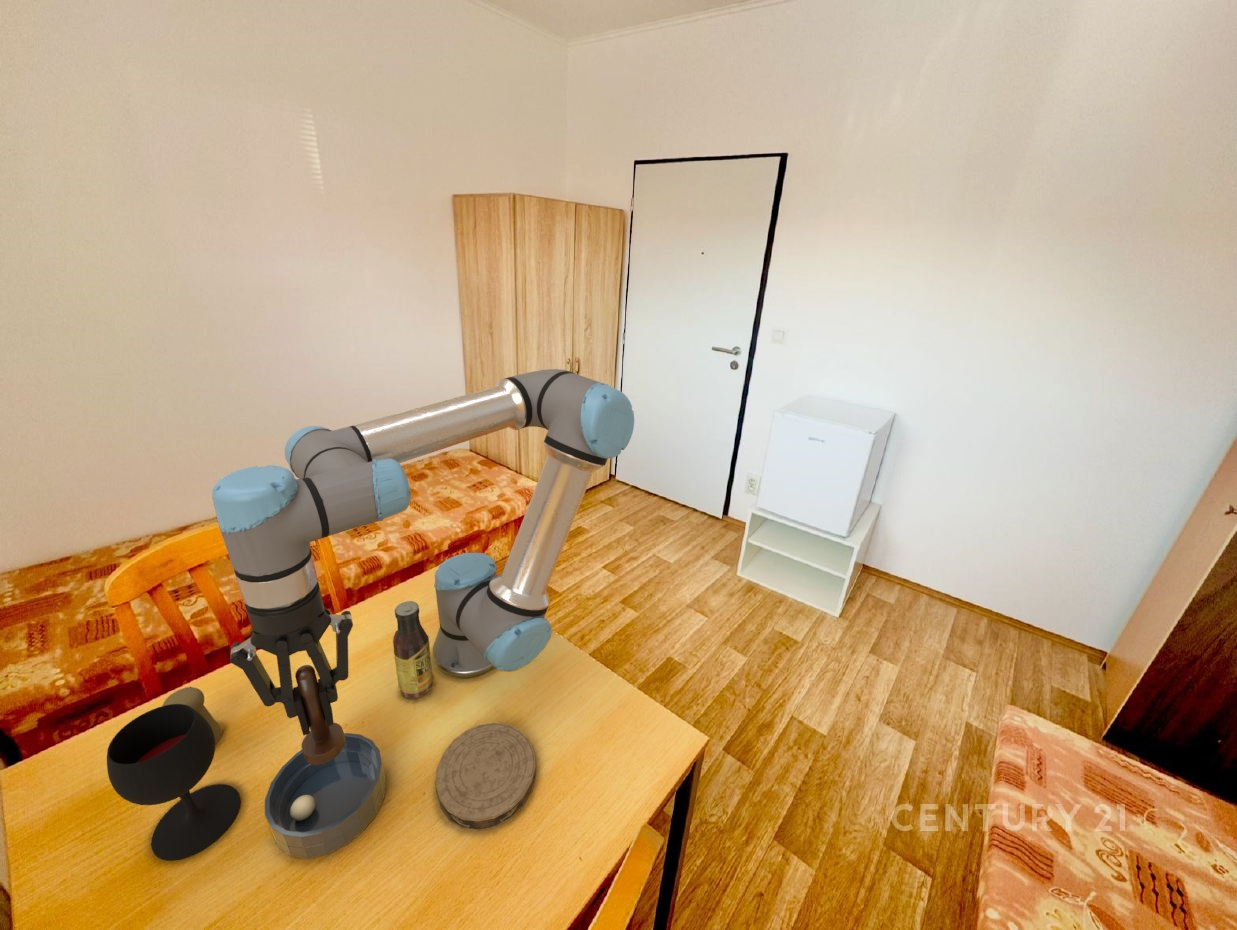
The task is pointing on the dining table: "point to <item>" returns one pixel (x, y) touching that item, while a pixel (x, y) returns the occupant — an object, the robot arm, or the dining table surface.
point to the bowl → (327, 798)
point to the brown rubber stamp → (317, 721)
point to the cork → (195, 706)
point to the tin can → (485, 776)
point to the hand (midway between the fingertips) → (318, 721)
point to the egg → (302, 807)
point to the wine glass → (173, 778)
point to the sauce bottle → (412, 652)
